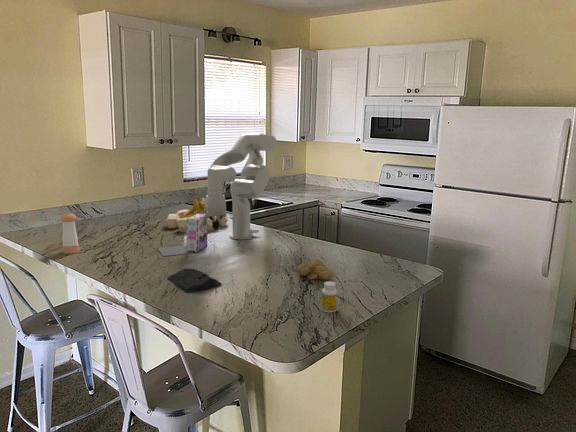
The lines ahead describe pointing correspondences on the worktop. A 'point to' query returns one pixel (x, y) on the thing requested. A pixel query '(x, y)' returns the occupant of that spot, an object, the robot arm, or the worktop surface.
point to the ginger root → (314, 270)
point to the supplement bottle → (329, 297)
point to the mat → (174, 251)
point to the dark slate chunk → (193, 281)
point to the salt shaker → (69, 234)
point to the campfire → (182, 215)
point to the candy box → (196, 232)
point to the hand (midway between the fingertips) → (215, 229)
